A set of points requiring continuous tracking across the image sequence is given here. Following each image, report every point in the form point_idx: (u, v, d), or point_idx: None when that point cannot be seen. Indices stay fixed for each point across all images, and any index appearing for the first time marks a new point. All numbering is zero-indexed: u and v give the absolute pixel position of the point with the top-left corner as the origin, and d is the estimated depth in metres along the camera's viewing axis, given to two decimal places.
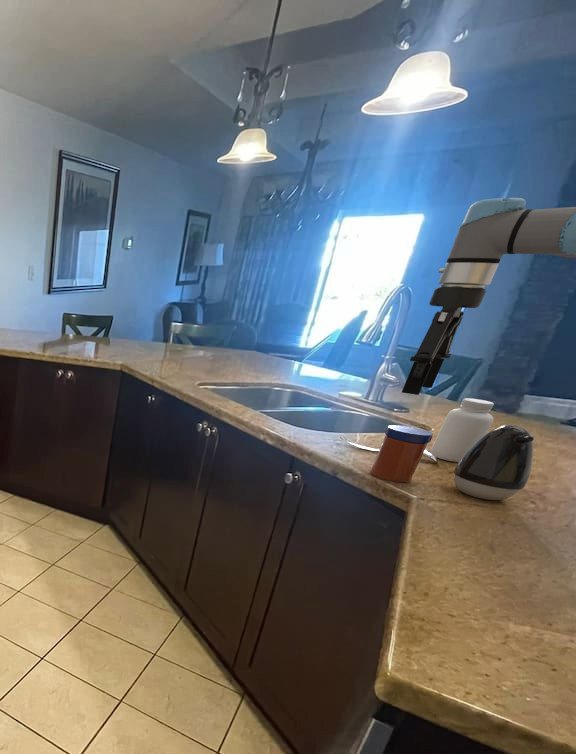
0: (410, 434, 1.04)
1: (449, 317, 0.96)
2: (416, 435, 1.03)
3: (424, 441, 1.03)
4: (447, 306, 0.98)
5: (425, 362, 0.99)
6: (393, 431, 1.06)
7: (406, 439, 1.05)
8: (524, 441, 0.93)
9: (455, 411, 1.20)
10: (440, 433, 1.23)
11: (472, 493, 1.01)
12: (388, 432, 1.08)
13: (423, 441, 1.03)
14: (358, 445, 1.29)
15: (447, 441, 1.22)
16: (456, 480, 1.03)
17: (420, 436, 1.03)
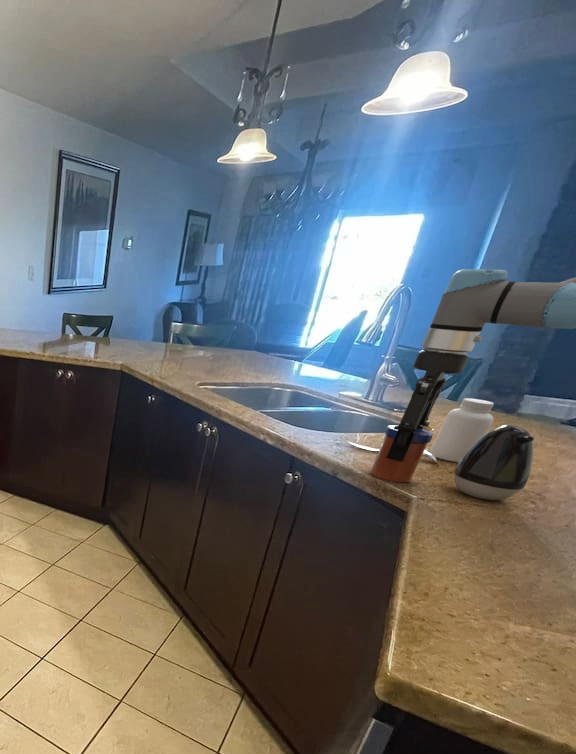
0: None
1: None
2: (416, 435, 1.03)
3: (424, 441, 1.03)
4: None
5: None
6: (393, 431, 1.06)
7: None
8: (524, 441, 0.93)
9: (455, 411, 1.20)
10: (440, 433, 1.23)
11: (472, 493, 1.01)
12: (388, 432, 1.08)
13: (423, 441, 1.03)
14: (358, 445, 1.29)
15: (447, 441, 1.22)
16: (456, 480, 1.03)
17: (420, 436, 1.03)
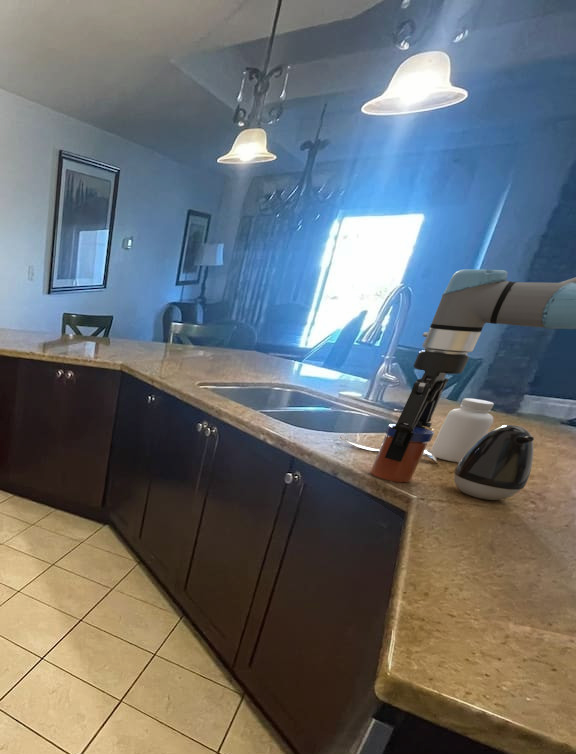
0: None
1: (427, 389, 0.98)
2: None
3: None
4: (429, 371, 0.99)
5: (406, 431, 1.03)
6: None
7: None
8: (524, 441, 0.93)
9: (455, 411, 1.20)
10: (440, 433, 1.23)
11: (472, 493, 1.01)
12: None
13: None
14: (358, 445, 1.29)
15: (447, 441, 1.22)
16: (456, 480, 1.03)
17: None
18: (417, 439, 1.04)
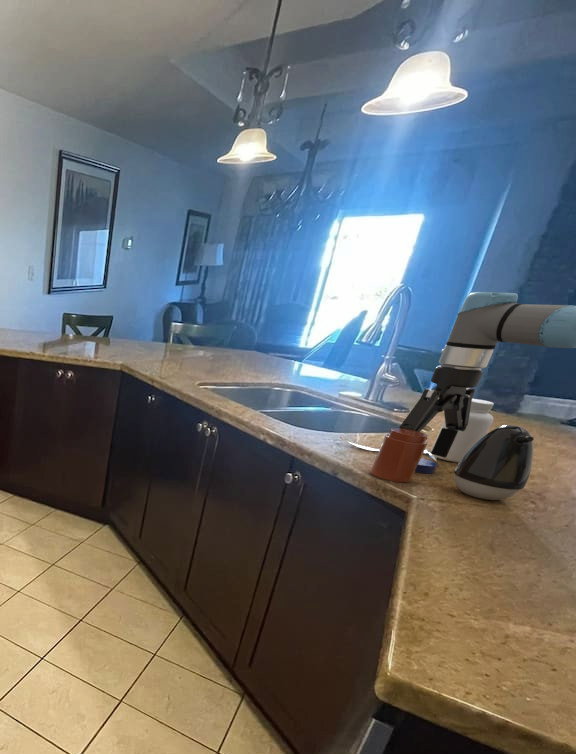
0: None
1: (434, 395, 1.06)
2: None
3: None
4: (440, 384, 1.08)
5: None
6: None
7: None
8: (524, 441, 0.93)
9: None
10: None
11: (472, 493, 1.01)
12: None
13: None
14: (358, 445, 1.29)
15: None
16: (456, 480, 1.03)
17: None
18: (417, 470, 1.14)
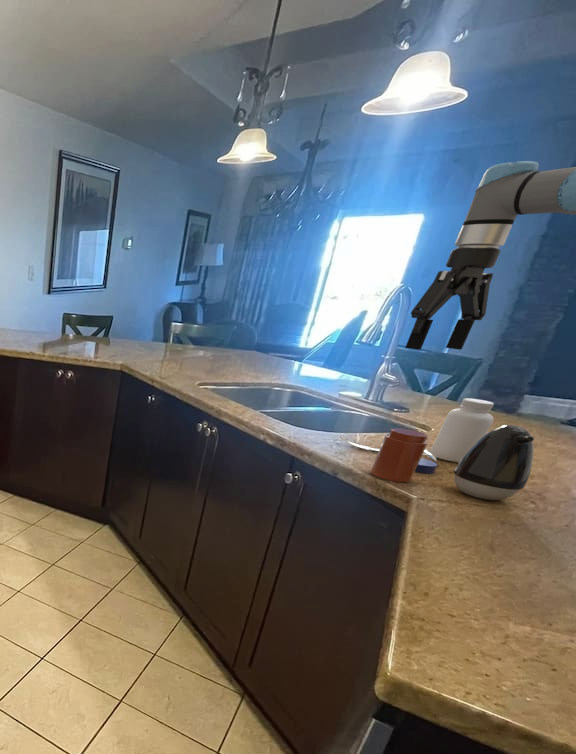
0: None
1: (448, 275, 1.05)
2: None
3: None
4: (455, 266, 1.06)
5: (422, 318, 1.08)
6: None
7: None
8: (524, 441, 0.93)
9: (455, 411, 1.20)
10: (440, 433, 1.23)
11: (472, 493, 1.01)
12: None
13: None
14: (358, 445, 1.29)
15: (447, 441, 1.22)
16: (456, 480, 1.03)
17: None
18: (417, 470, 1.14)
